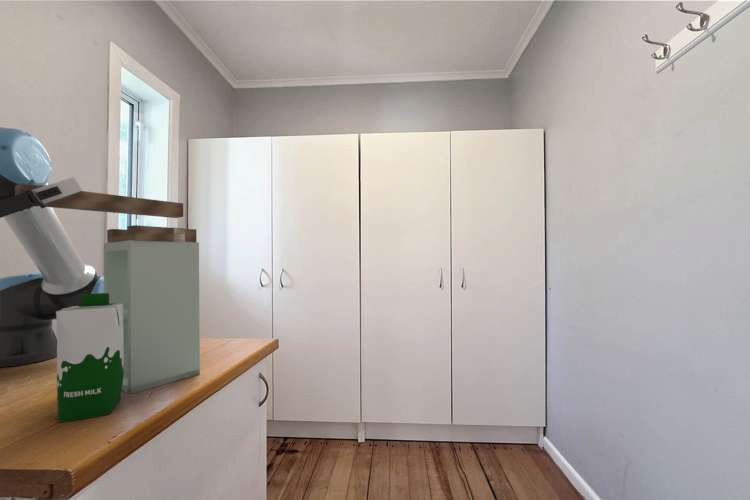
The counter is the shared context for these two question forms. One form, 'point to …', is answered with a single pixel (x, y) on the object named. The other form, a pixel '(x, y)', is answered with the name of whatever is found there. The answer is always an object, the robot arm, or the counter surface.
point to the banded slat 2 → (160, 234)
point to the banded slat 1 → (116, 235)
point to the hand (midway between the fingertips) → (73, 185)
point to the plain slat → (111, 203)
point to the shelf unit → (155, 309)
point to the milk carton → (89, 358)
